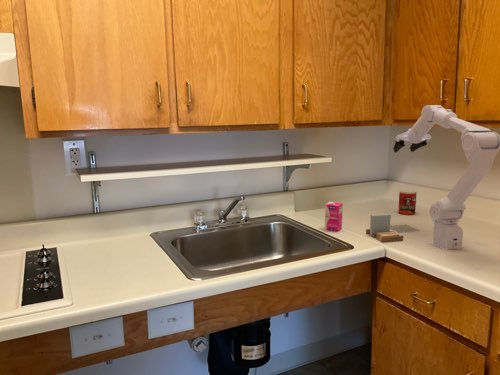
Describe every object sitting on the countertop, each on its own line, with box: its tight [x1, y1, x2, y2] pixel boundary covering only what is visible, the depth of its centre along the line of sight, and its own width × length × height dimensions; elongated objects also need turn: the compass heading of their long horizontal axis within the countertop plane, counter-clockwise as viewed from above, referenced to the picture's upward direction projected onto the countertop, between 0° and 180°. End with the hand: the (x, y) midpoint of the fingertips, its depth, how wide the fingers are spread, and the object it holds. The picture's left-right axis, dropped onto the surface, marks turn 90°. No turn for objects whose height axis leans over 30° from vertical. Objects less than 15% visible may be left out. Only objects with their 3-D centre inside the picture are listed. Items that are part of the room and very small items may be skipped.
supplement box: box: [324, 201, 344, 233], centre depth 165 cm, size 6×6×12 cm
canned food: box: [397, 189, 418, 216], centre depth 194 cm, size 8×8×11 cm
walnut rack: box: [365, 228, 404, 244], centre depth 154 cm, size 12×9×2 cm
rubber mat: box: [390, 224, 421, 234], centre depth 166 cm, size 10×10×1 cm
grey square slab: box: [369, 213, 392, 237], centre depth 157 cm, size 2×8×8 cm, turn 103°
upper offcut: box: [377, 231, 400, 238], centre depth 152 cm, size 4×7×1 cm, turn 103°
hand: (403, 150), depth 167 cm, fingers open, 7 cm apart
